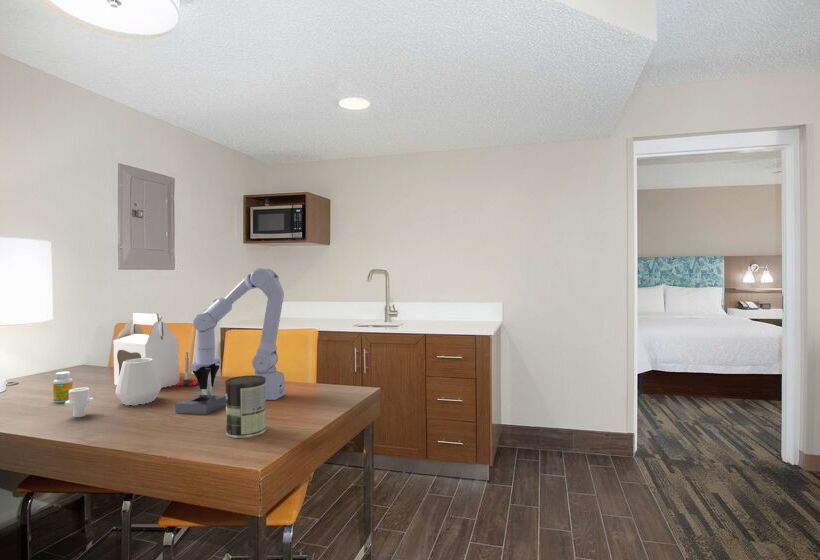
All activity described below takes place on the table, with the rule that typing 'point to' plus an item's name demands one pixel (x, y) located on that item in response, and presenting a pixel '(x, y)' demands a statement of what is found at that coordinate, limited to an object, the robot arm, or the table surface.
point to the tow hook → (187, 375)
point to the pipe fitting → (79, 401)
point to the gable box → (148, 347)
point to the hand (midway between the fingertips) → (206, 387)
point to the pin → (208, 385)
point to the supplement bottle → (62, 387)
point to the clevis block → (200, 404)
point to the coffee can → (245, 406)
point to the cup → (138, 382)
